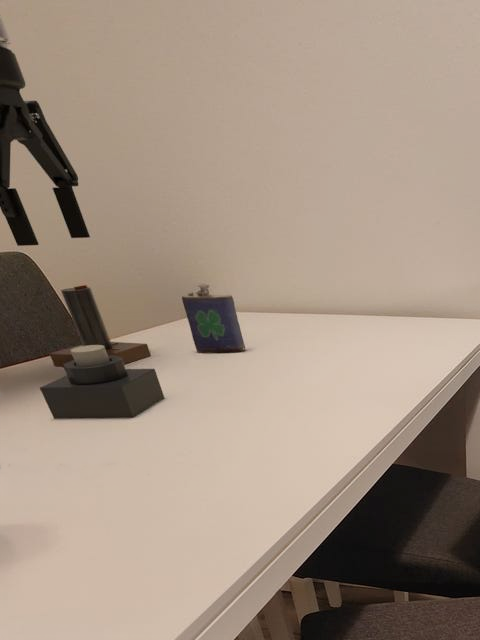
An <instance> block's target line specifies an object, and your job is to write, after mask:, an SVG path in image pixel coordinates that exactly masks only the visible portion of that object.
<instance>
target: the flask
mask: <svg viewBox="0 0 480 640" xmlns="http://www.w3.org/2000/svg"><path fill="white" fill-rule="evenodd" d="M197 287H199V288H200V290H197V291H190V292H188V293H187V294H183V295H182V296H181V301H182V304H183V307H184V311H185V314H186V318H187V322H188V324H189V328H190V332H191V336H192V341H193V344H194V347H195V349H196V353H203V354H205V353H207V354H208V353H211V354H213V353H236V352H239V353H240V352H245V350H246V345H245V341H244V338H243V334H242V330H241V325H240V322H239V318H238V314H237V310H236V306H235V300H234V298H233V296H232V295H231V294H210V291H209V287H210V285H209V284H207V283H198V284H197Z"/></svg>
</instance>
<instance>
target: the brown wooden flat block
mask: <svg viewBox="0 0 480 640" xmlns="http://www.w3.org/2000/svg"><path fill="white" fill-rule="evenodd" d="M111 343H112V346H113V347H111V348H109V349H106V352H107V354H108V356H118V357H121V358H122V360H123V363H124V365H127V364H129V363H132V362H135V361H139V360H142V359H145V358H148V357H151V356H152V355H151V351H150V348H149V346H148V343H143V342H142V343H141V342H122V341H111ZM81 346H83V344H82V343H81V344H79V345H75V346H71V347H68V348H64V349H60V350H57V351H53V352H50V353H49V356H50V359H51V361H52V363H53V366H55V367H64V364H65V363H68V362H70V361H73V360H74V358H73V356H72V353H71V349H73V348H77V347H81Z"/></svg>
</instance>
